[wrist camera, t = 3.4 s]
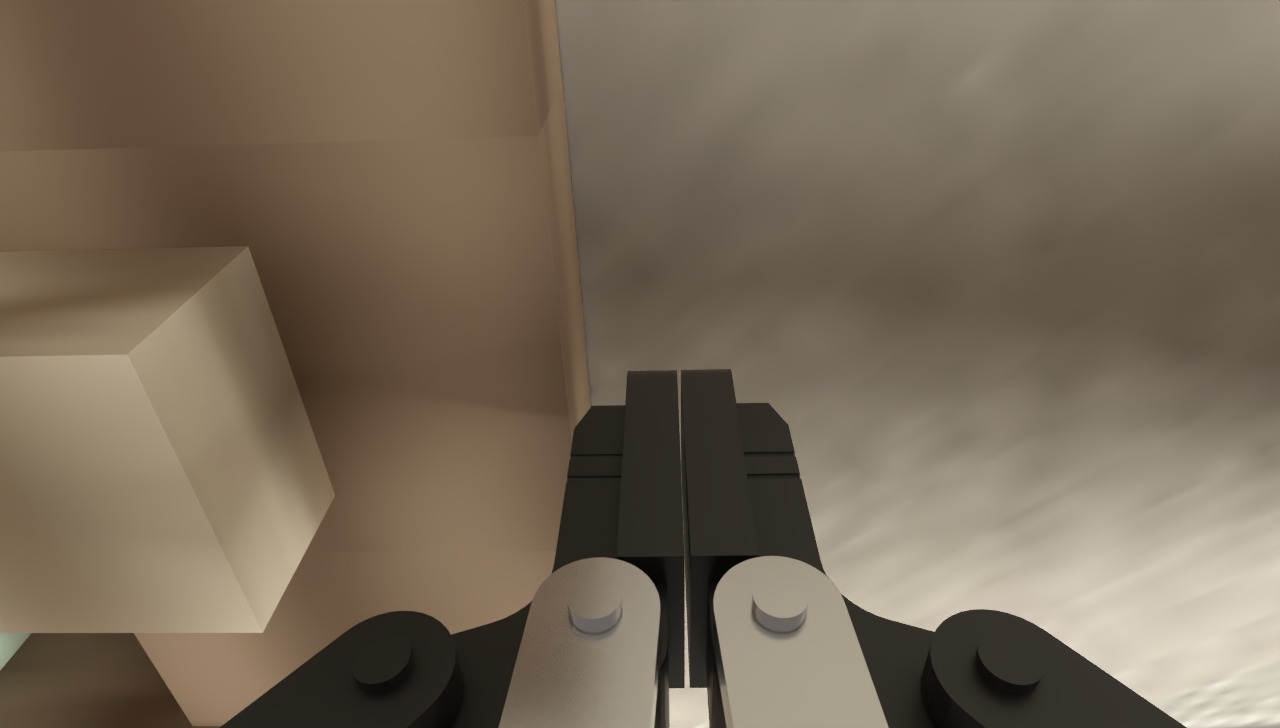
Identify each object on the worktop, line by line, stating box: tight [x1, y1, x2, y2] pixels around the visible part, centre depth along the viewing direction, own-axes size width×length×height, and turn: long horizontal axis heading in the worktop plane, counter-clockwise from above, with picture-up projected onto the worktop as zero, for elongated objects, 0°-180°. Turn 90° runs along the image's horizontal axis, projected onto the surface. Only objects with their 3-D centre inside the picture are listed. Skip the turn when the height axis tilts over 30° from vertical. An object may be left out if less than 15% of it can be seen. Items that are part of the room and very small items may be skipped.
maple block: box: [0, 246, 335, 633], centre depth 11 cm, size 5×5×3 cm
